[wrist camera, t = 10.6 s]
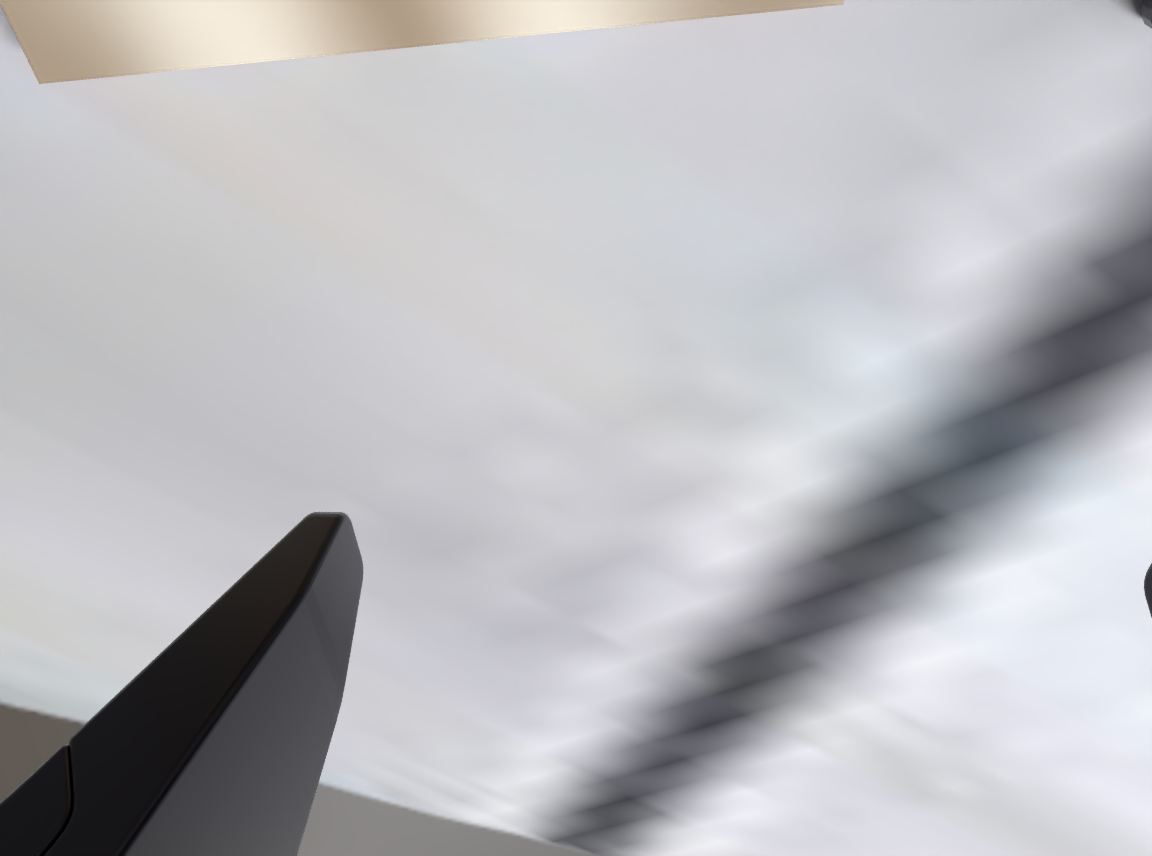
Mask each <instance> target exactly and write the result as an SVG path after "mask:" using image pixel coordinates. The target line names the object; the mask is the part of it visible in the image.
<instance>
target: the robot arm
mask: <svg viewBox="0 0 1152 856" xmlns="http://www.w3.org/2000/svg"><path fill="white" fill-rule="evenodd" d="M1141 16H1142V18H1143V21H1144V23H1145V24H1146V25H1147V26H1149V27H1150V28H1152V0H1143V3H1142V12H1141ZM362 581H363V562H362V557H361V554H360V550H359V547H358V544H357V540H356V537H355V533H354V530H353V526H352V523H351V520H350V518H349V517H348V515H347V514H345V513H342V512H314V513H311V514H309V515H307V516H306V517H305V518H304V519H303V520H302V521H301V522H300V523H299V524H297V525H296V526H295V527H294V528H293V529H292V530H291V531H290V532H289V533H288V534H287V535H286V536H285V537H284V538H283V539H282V540H280V541H279V542H278V543H277V544H276V545H275V546H274V547H273V548H272V549H271V550H270V551H269V552H268V553H267V554H266V555H265V556H263V557H262V558H261V559H260V560H259V561H258V562H257V563H256V564H255V565H254V566H253V567H252V568H251V569H250V570H249V571H248V572H246V573H245V574H244V575H243V576H242V577H241V578H240V579H239V580H238V581H237V582H236V583H235V584H234V585H233V586H232V587H231V588H229V589H228V590H227V591H226V592H225V593H224V594H223V595H222V596H221V597H220V598H219V599H218V600H217V601H216V602H215V603H214V604H212V605H211V606H210V607H209V608H208V609H207V610H206V611H205V612H204V613H203V614H202V615H201V616H200V617H199V618H198V619H197V620H195V621H194V622H193V623H192V624H191V625H190V626H189V627H188V628H187V629H186V630H185V631H184V632H183V633H182V634H181V635H180V636H178V637H177V638H176V639H175V640H174V641H173V642H172V643H171V644H170V645H169V646H168V647H167V648H166V649H165V650H164V651H163V652H161V653H160V654H159V655H158V656H157V657H156V658H155V659H154V660H153V661H152V662H151V663H150V664H149V665H148V666H147V667H146V668H144V669H143V670H142V671H141V672H140V673H139V674H138V675H137V676H136V677H135V678H134V679H133V680H132V681H131V682H130V683H129V684H127V685H126V686H125V687H124V688H123V689H122V690H121V691H120V692H119V693H118V694H117V695H116V696H115V697H114V698H113V699H112V700H110V701H109V702H108V703H107V704H106V705H105V706H104V707H103V708H102V709H101V710H100V711H99V712H98V713H97V714H96V715H95V716H93V717H92V718H91V719H90V720H89V721H88V722H87V723H86V724H85V725H84V726H83V727H82V728H81V729H80V730H79V731H78V732H77V733H75V734H74V735H73V736H72V737H71V738H70V741H69V745H63V746H61V747H60V748H59V749H58V750H57V751H56V752H55V753H54V754H53V755H52V756H51V757H50V758H49V759H47V761H45V762H44V763H43V764H42V765H41V766H40V767H39V768H38V769H37V770H36V771H35V772H34V773H33V774H31V775H30V776H29V777H28V778H27V779H26V780H25V781H24V782H23V783H21V785H19V786H18V787H17V788H16V789H15V790H14V791H13V792H12V793H10V794H9V795H8V796H7V797H6V798H5V799H4V800H3V801H2V802H0V856H297V854H298V851H299V847H300V844H301V840H302V837H303V833H304V830H305V827H306V823H307V820H308V817H309V813H310V810H311V806H312V802H313V800H314V796H315V793H316V789H317V786H318V782H319V779H320V776H321V772H322V769H323V765H324V762H325V759H326V755H327V752H328V748H329V745H330V741H331V738H332V735H333V731H334V728H335V724H336V721H337V717H338V713H339V710H340V706H341V702H342V697H343V692H344V687H345V681H346V676H347V670H348V664H349V658H350V652H351V646H352V640H353V634H354V628H355V622H356V617H357V611H358V605H359V599H360V593H361V587H362ZM1144 590H1145V596H1146V600H1147V603H1148V607H1149V610H1150V614H1151V617H1152V564H1151V565H1150V567H1149V569H1148V571H1147V573H1146V576H1145V580H1144Z"/></svg>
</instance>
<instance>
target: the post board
mask: <svg viewBox="0 0 1152 856" xmlns="http://www.w3.org/2000/svg"><path fill="white" fill-rule="evenodd" d="M0 4H1V6H2V8H3V10H4V12H5V14H6V16H7V18H8V20H9V23H10V25H11V27H12V29H13V31H14V33H15V35H16V37H17V39H18V41H19V43H20V45H21V47H22V49H23V51H24V53H25V55H26V57H27V60H28V62H29V64H30V66H31V68H32V70H33V72H34V74H35V76H36V78H37V80H38V82H39V84H43V83H53V82H63V81H74V80H84V79H94V78H104V77H114V76H124V75H134V74H144V73H155V72H165V71H175V70H185V69H195V68H205V67H215V66H225V65H235V64H246V63H256V62H266V61H276V60H286V59H296V58H306V57H316V56H327V55H337V54H347V53H357V52H367V51H377V50H387V49H397V48H408V47H418V46H428V45H438V44H448V43H458V42H468V41H478V40H489V39H499V38H509V37H519V36H529V35H539V34H549V33H559V32H570V31H580V30H590V29H600V28H610V27H620V26H630V25H640V24H651V23H661V22H671V21H681V20H691V19H701V18H711V17H721V16H732V15H742V14H752V13H762V12H772V11H782V10H792V9H802V8H813V7H823V6H833V5H843V4H844V0H0Z"/></svg>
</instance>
